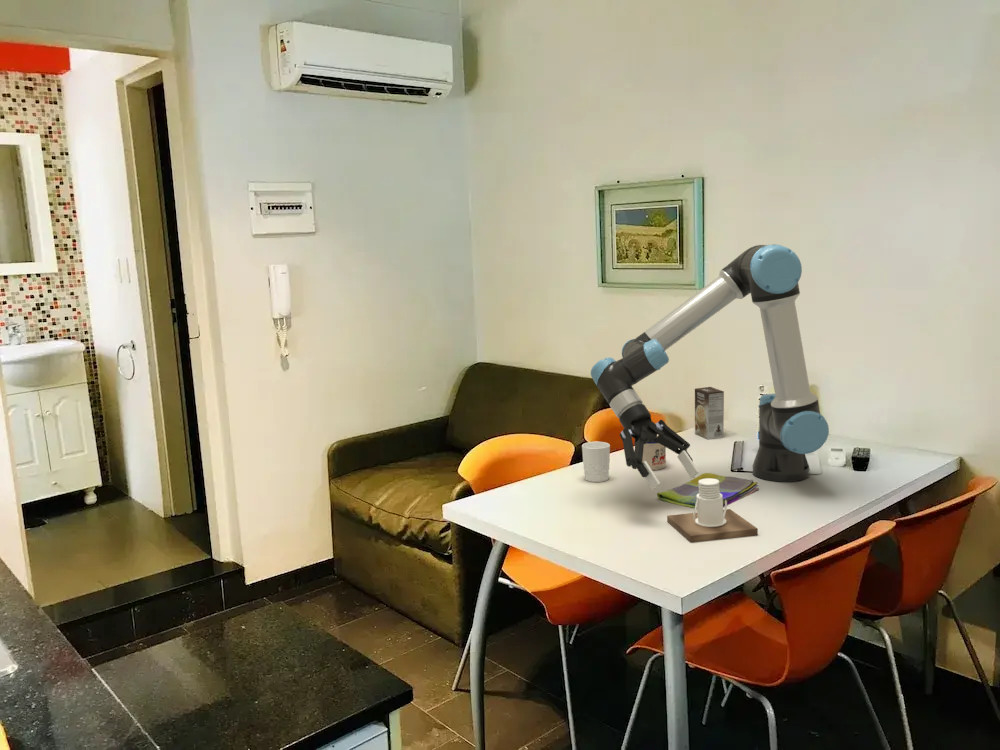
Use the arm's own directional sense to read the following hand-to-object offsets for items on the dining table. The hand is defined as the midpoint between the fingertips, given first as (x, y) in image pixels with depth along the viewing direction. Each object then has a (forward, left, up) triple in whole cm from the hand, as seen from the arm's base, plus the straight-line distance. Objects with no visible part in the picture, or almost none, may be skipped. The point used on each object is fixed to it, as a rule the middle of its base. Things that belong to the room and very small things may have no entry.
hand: (676, 480), depth 194 cm
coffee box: (-41, -72, -9) cm, 83 cm away
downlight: (-4, +10, -8) cm, 13 cm away
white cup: (+10, -36, -9) cm, 38 cm away
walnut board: (-4, +10, -9) cm, 14 cm away
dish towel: (-14, -14, -10) cm, 22 cm away
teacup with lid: (-10, -44, -9) cm, 46 cm away
